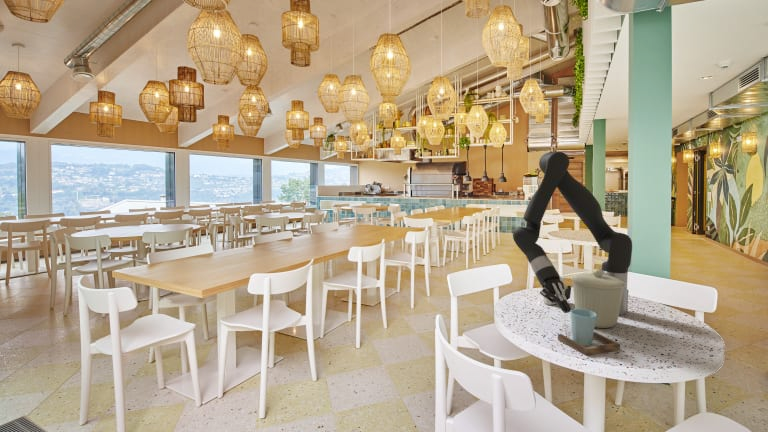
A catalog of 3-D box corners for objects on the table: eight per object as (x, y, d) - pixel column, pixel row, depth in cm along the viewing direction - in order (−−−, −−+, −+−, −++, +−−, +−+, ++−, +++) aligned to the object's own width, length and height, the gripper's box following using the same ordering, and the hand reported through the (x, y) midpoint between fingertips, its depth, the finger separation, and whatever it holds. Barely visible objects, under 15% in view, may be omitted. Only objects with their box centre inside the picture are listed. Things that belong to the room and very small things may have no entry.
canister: (619, 337, 128) (622, 277, 126) (563, 324, 140) (565, 270, 138) (627, 321, 142) (630, 268, 140) (576, 311, 154) (577, 261, 152)
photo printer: (555, 299, 170) (556, 272, 169) (564, 301, 167) (565, 274, 165) (542, 303, 164) (542, 276, 163) (550, 306, 161) (551, 278, 160)
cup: (600, 344, 123) (601, 314, 122) (586, 349, 119) (587, 318, 118) (578, 336, 129) (579, 307, 128) (564, 341, 126) (565, 311, 125)
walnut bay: (589, 334, 130) (589, 329, 130) (619, 349, 119) (620, 343, 118) (557, 339, 127) (557, 334, 126) (586, 355, 115) (586, 349, 115)
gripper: (534, 266, 137) (558, 309, 126) (563, 263, 141) (589, 304, 130) (525, 277, 142) (547, 318, 132) (553, 274, 146) (576, 314, 135)
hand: (567, 311), depth 131 cm, fingers closed
